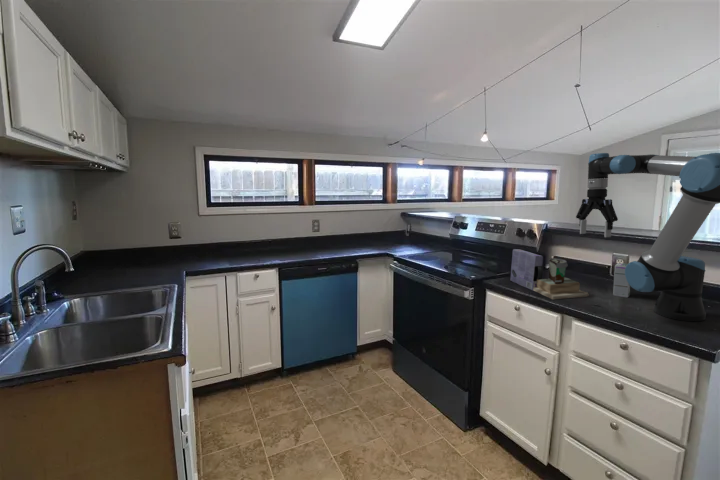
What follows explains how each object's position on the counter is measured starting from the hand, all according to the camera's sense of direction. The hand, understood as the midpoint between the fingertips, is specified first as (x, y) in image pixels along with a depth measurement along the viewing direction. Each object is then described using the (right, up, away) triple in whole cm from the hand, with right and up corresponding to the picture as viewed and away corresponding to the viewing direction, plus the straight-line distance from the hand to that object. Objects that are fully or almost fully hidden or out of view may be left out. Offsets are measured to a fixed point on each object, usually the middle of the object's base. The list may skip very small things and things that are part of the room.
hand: (594, 235), depth 162 cm
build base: (-13, -27, +8) cm, 31 cm away
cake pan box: (-22, -26, +21) cm, 40 cm away
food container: (-13, -22, +7) cm, 26 cm away
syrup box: (+13, -28, +1) cm, 31 cm away
